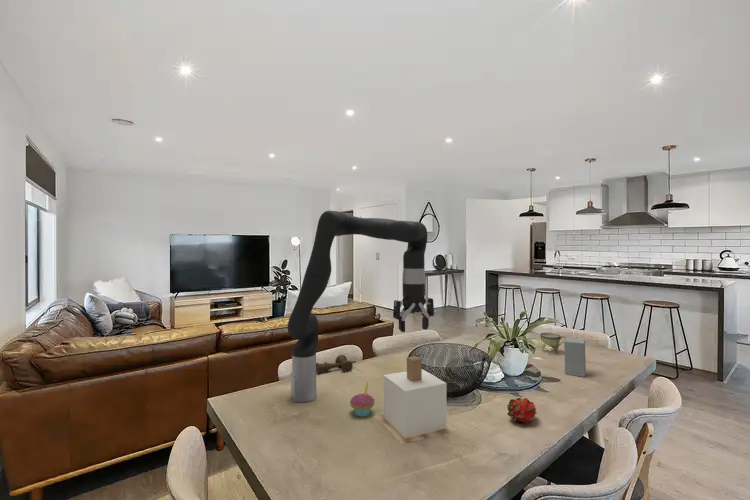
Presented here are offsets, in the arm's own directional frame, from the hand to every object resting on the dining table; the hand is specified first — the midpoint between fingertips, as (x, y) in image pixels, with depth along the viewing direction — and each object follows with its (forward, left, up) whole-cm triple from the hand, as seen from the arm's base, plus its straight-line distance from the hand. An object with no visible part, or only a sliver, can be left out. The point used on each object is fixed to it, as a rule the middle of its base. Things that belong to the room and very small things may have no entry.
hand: (413, 330), depth 125 cm
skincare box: (+91, +10, -32) cm, 97 cm away
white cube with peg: (0, 0, -31) cm, 31 cm away
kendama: (-6, +61, -32) cm, 70 cm away
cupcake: (-13, +14, -32) cm, 37 cm away
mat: (0, 0, -32) cm, 32 cm away
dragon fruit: (+35, -13, -32) cm, 49 cm away
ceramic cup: (+109, +37, -32) cm, 120 cm away
